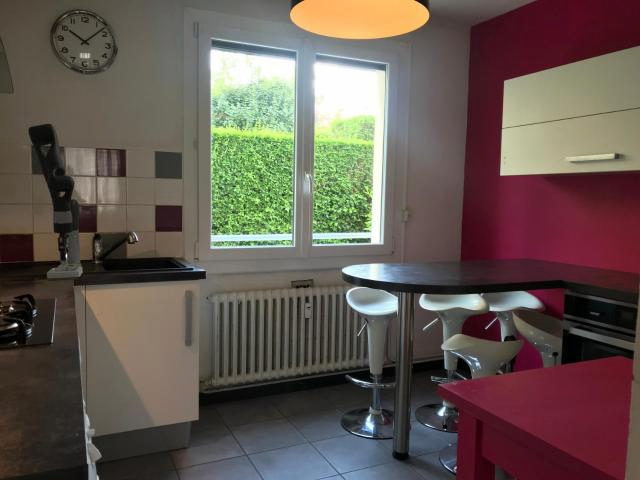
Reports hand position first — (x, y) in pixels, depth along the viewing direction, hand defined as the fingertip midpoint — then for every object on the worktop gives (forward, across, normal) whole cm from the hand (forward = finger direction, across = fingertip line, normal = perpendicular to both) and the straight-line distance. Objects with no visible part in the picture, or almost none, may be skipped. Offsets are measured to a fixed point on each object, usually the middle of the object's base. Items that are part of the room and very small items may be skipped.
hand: (64, 259), depth 232 cm
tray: (+8, 0, 0) cm, 8 cm away
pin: (+7, 0, 0) cm, 7 cm away
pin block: (+8, -12, 0) cm, 15 cm away
